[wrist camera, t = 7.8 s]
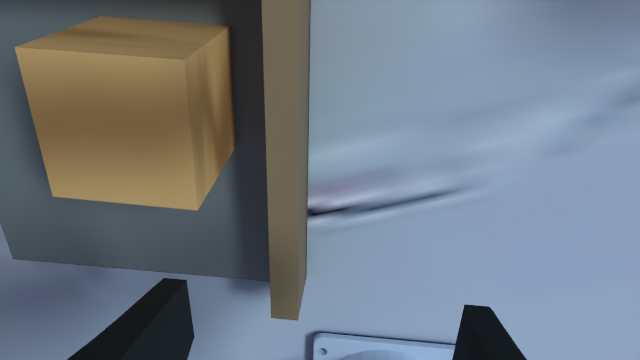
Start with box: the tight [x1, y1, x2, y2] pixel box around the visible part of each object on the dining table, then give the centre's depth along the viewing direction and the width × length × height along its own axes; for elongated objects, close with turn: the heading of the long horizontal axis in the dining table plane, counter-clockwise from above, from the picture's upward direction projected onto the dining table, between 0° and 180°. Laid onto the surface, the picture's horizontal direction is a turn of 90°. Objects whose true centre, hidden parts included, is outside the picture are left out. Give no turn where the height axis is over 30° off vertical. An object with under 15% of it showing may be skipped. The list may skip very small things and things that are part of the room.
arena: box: [0, 0, 311, 320], centre depth 20 cm, size 15×15×3 cm
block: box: [15, 16, 236, 210], centre depth 17 cm, size 5×5×5 cm
